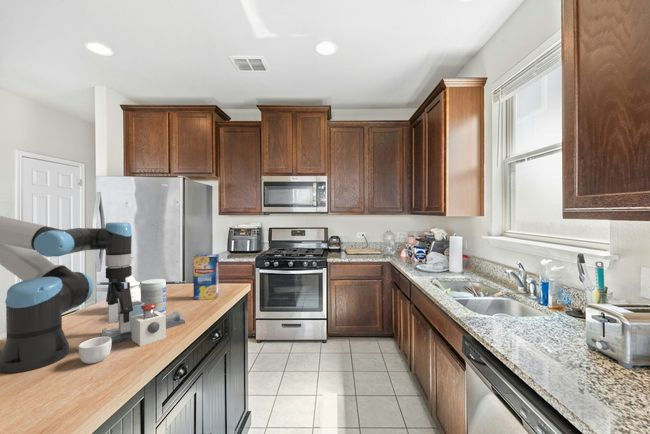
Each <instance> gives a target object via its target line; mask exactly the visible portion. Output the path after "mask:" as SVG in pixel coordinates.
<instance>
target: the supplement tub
mask: <svg viewBox="0 0 650 434" xmlns="http://www.w3.org/2000/svg"><path fill="white" fill-rule="evenodd" d="M140 291H141V302H143V303H145V304H149V303H155V304H156V307H155V308H154V311H158V312H160V313H162V314H164V315H165V314H166V312H167V281H166V279H165V278H153V279H147V280H141V282H140Z"/></svg>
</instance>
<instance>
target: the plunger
mask: <svg viewBox="0 0 650 434" xmlns="http://www.w3.org/2000/svg"><path fill="white" fill-rule="evenodd" d="M155 307H156V304H155V303H149V304H144V305H142V306H141V309H143V320H144V319H148V318H152V317H154V308H155Z"/></svg>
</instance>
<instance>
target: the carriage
mask: <svg viewBox="0 0 650 434" xmlns="http://www.w3.org/2000/svg"><path fill="white" fill-rule="evenodd" d="M144 304H145V303H143V302H140V301H136V302H132V306H133V311H131V312H130V331H131V317H132V316H136V315H140V314H143V309H141V306H142V305H144ZM126 309H127V308H126ZM119 312H121V308H120V306H119ZM118 327H120V314H118ZM127 332H129V331H127ZM123 333H126V332H123Z"/></svg>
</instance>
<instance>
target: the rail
mask: <svg viewBox="0 0 650 434" xmlns="http://www.w3.org/2000/svg"><path fill="white" fill-rule="evenodd" d="M185 323H186V320H185V319H184V314H183V313H181V312H179V311H173V313H169V314H166V329H169V328H172V327H176V326H180V325H184V324H185ZM100 337H111V339H112V344H111V345H113V344H114V345H115V344H118V343H120V342H125V341H127V340H131V331H129V332H126V333H120V327H119V326H118V327H115V328H110V329H107V328H103V329H101V333H100Z"/></svg>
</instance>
